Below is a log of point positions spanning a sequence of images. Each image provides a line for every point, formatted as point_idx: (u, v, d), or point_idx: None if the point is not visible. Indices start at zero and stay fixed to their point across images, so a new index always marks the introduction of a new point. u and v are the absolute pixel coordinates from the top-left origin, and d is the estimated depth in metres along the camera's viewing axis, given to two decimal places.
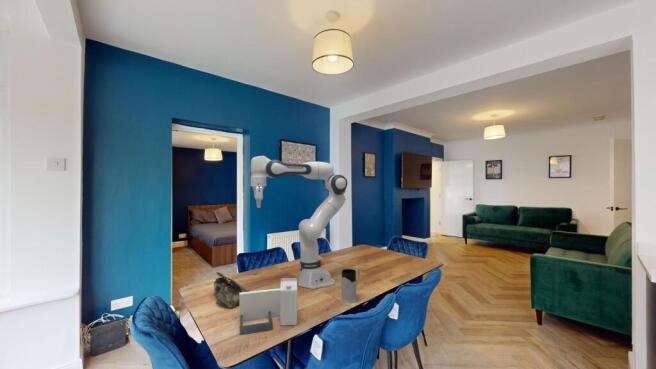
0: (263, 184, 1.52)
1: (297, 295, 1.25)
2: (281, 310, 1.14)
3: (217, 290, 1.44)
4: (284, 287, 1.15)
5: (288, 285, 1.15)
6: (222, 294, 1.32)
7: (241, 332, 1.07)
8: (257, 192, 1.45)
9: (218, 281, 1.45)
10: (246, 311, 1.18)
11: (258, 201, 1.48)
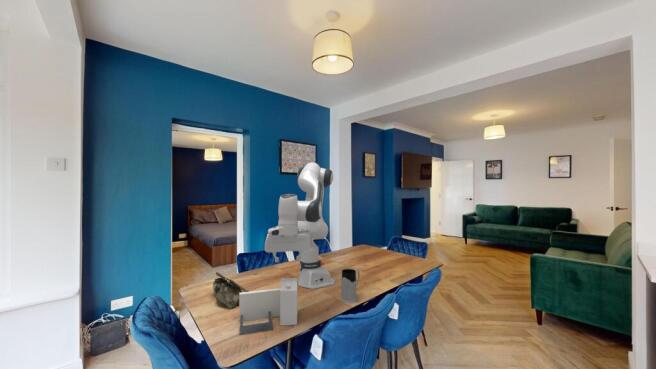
0: None
1: (297, 295, 1.25)
2: (281, 310, 1.14)
3: (216, 290, 1.44)
4: (284, 287, 1.15)
5: (288, 285, 1.15)
6: (222, 294, 1.32)
7: (241, 332, 1.07)
8: (309, 240, 1.20)
9: (217, 281, 1.44)
10: (246, 311, 1.18)
11: None
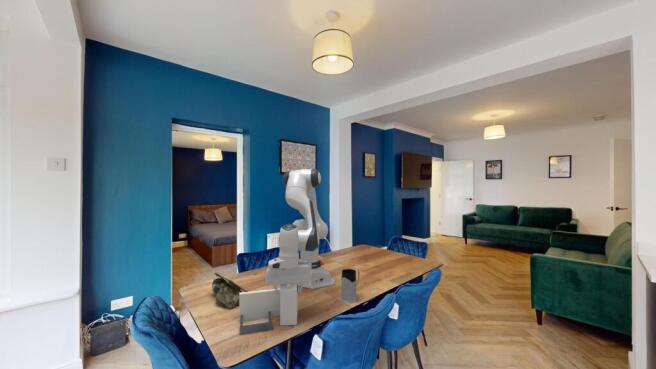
0: None
1: (297, 295, 1.25)
2: (281, 310, 1.14)
3: (215, 291, 1.43)
4: (284, 287, 1.15)
5: (288, 285, 1.15)
6: (222, 294, 1.31)
7: (241, 332, 1.07)
8: (310, 272, 1.19)
9: (216, 282, 1.44)
10: (246, 311, 1.18)
11: None
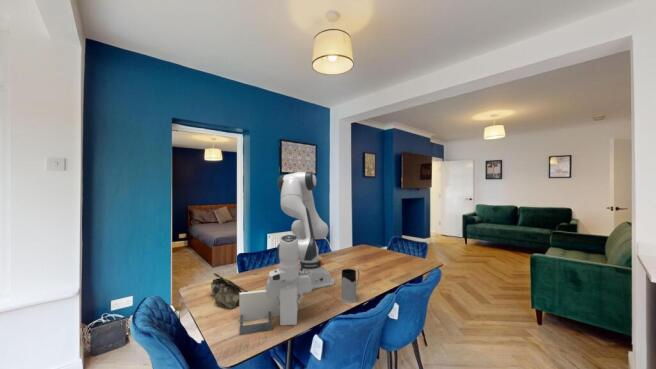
0: None
1: (297, 295, 1.25)
2: (281, 310, 1.14)
3: (215, 291, 1.43)
4: (284, 287, 1.15)
5: (288, 285, 1.15)
6: (222, 294, 1.31)
7: (241, 332, 1.07)
8: (310, 282, 1.19)
9: (215, 282, 1.43)
10: (246, 311, 1.18)
11: None
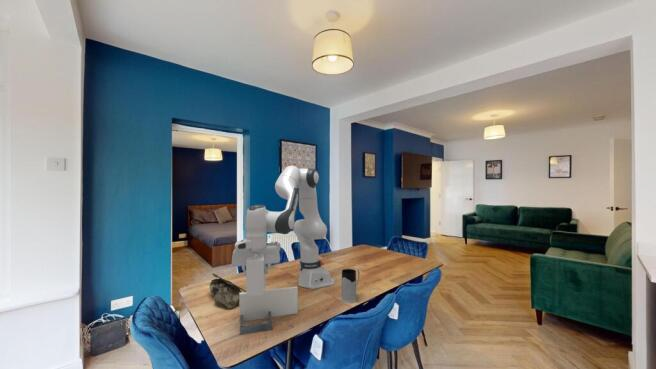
0: None
1: (297, 295, 1.25)
2: (247, 280, 1.11)
3: (213, 291, 1.42)
4: (251, 257, 1.12)
5: (255, 255, 1.12)
6: (221, 294, 1.31)
7: (241, 332, 1.07)
8: None
9: (214, 282, 1.43)
10: (246, 311, 1.18)
11: None
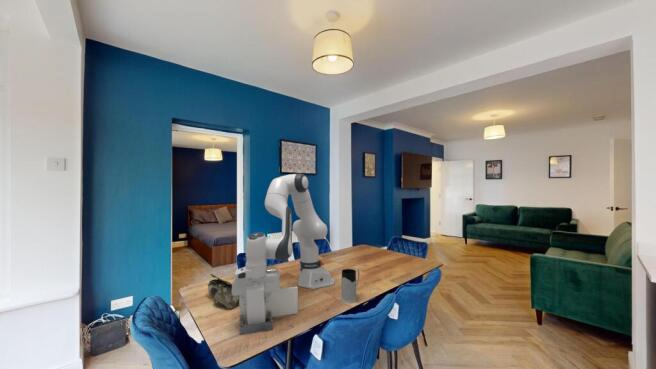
0: None
1: (297, 295, 1.25)
2: (248, 311, 1.11)
3: (212, 292, 1.41)
4: (250, 287, 1.13)
5: (254, 285, 1.12)
6: (221, 295, 1.30)
7: (241, 332, 1.07)
8: None
9: (213, 283, 1.42)
10: (246, 311, 1.18)
11: None
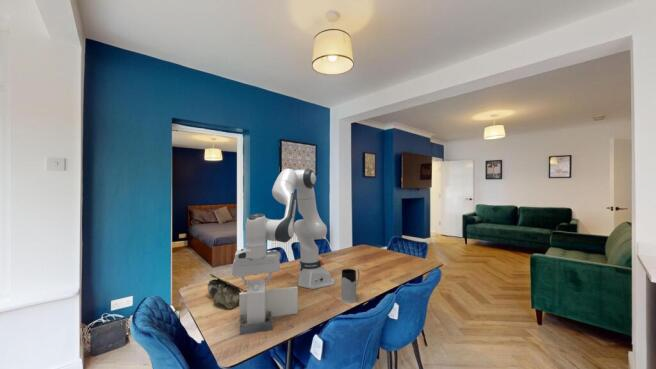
0: None
1: (297, 295, 1.25)
2: (248, 313, 1.11)
3: (212, 292, 1.41)
4: (251, 289, 1.13)
5: (255, 287, 1.12)
6: (221, 295, 1.30)
7: (241, 332, 1.07)
8: None
9: (213, 283, 1.42)
10: (246, 311, 1.18)
11: (271, 273, 1.17)
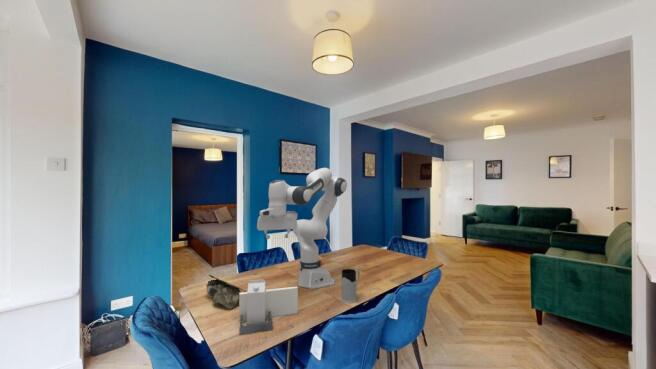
0: None
1: (297, 295, 1.25)
2: (248, 313, 1.11)
3: (211, 293, 1.41)
4: (251, 289, 1.13)
5: (256, 287, 1.12)
6: (221, 295, 1.30)
7: (241, 332, 1.07)
8: (296, 220, 1.38)
9: (212, 283, 1.41)
10: (246, 311, 1.18)
11: (289, 230, 1.38)
